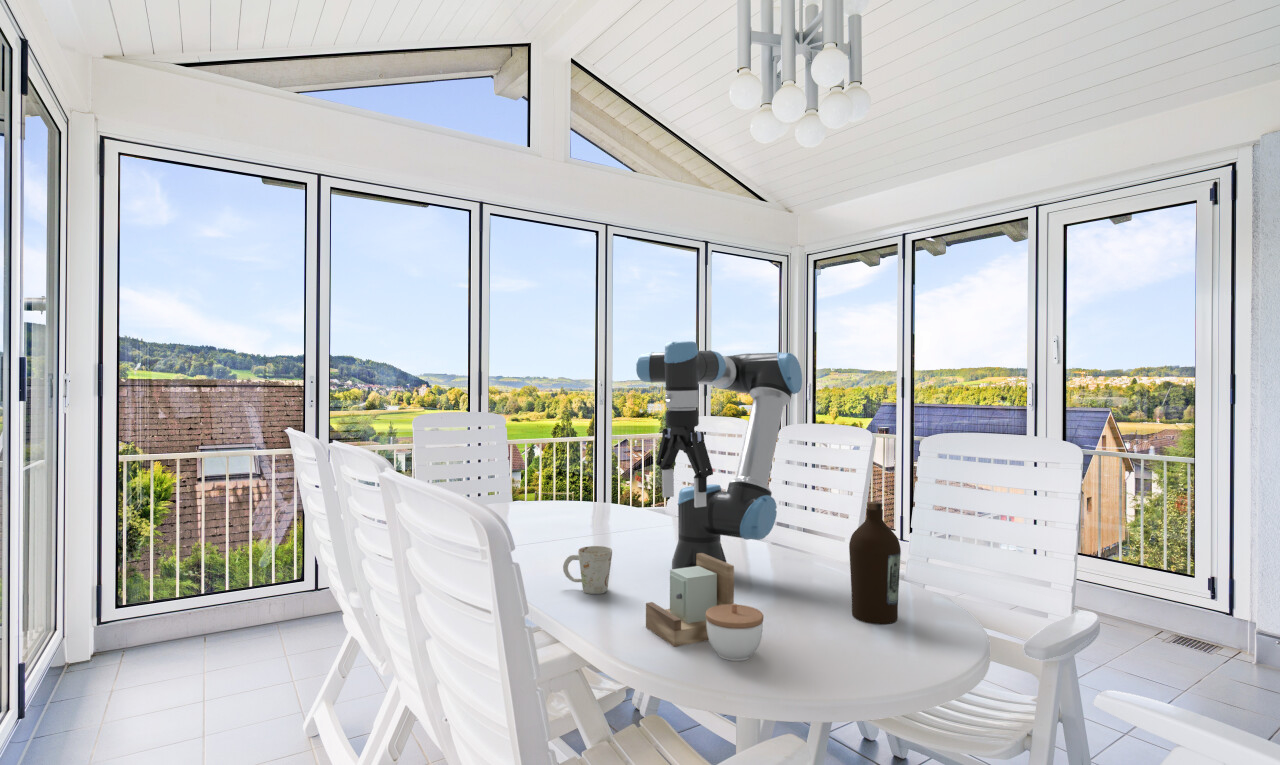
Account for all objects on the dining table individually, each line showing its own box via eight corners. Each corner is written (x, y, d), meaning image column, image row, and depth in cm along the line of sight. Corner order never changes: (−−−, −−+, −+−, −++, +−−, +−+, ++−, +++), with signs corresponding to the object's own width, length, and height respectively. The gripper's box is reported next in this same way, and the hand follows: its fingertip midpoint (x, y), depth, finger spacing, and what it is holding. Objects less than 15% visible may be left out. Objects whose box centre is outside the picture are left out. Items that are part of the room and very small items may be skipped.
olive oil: (842, 619, 145) (842, 503, 145) (857, 606, 153) (857, 497, 154) (893, 629, 139) (893, 508, 139) (906, 615, 147) (906, 502, 148)
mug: (607, 596, 160) (607, 554, 160) (557, 593, 162) (557, 552, 162) (615, 586, 168) (615, 546, 168) (567, 583, 170) (567, 544, 170)
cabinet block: (698, 608, 142) (698, 565, 142) (716, 618, 136) (716, 573, 136) (664, 613, 138) (664, 570, 139) (681, 624, 132) (682, 578, 132)
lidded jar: (700, 644, 130) (701, 596, 130) (754, 643, 131) (755, 594, 131) (711, 667, 119) (711, 614, 119) (770, 665, 120) (770, 613, 120)
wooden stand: (702, 617, 145) (702, 552, 146) (733, 635, 135) (733, 565, 135) (645, 627, 139) (646, 559, 139) (674, 646, 128) (674, 573, 129)
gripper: (641, 407, 162) (642, 494, 162) (699, 412, 140) (700, 513, 140) (667, 406, 165) (669, 491, 166) (728, 410, 144) (729, 509, 144)
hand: (683, 501), depth 153 cm, fingers open, 13 cm apart
